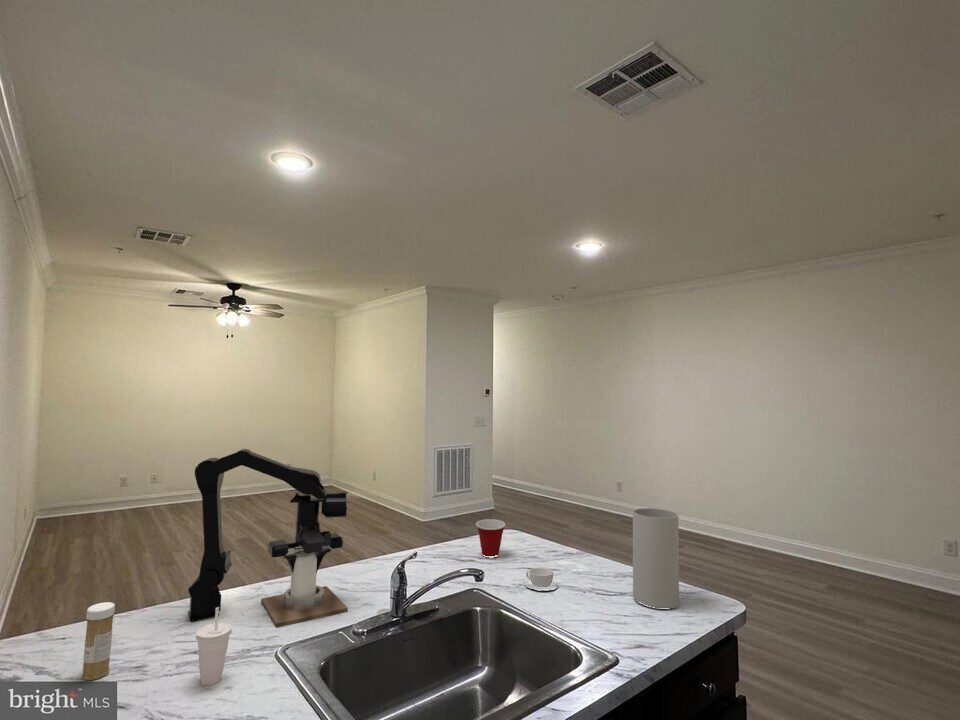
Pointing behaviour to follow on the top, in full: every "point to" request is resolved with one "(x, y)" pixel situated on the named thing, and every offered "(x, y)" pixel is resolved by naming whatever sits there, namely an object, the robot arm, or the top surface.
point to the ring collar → (303, 600)
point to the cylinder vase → (656, 557)
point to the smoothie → (212, 650)
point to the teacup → (540, 576)
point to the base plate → (289, 617)
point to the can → (304, 575)
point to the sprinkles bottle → (98, 640)
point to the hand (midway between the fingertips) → (304, 577)
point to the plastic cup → (490, 536)
